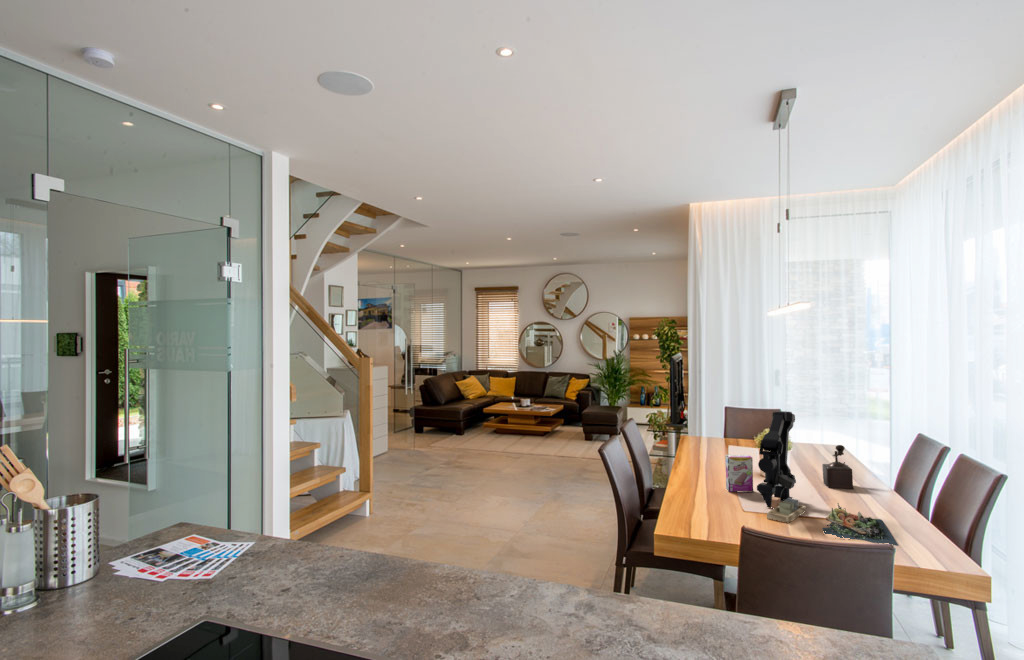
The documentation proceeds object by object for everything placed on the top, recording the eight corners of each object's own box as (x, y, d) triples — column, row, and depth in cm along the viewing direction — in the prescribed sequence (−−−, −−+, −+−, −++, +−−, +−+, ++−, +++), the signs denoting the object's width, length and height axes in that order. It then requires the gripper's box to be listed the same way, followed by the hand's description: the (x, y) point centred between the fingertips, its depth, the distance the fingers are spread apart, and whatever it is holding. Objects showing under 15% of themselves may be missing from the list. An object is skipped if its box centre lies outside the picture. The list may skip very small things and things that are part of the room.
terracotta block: (770, 505, 229) (770, 496, 230) (780, 507, 227) (780, 498, 227) (767, 507, 227) (766, 498, 227) (776, 509, 224) (776, 500, 224)
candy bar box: (729, 492, 250) (727, 457, 251) (725, 489, 255) (724, 454, 256) (754, 492, 249) (752, 456, 250) (750, 489, 254) (749, 454, 255)
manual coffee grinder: (855, 489, 250) (853, 450, 251) (828, 488, 253) (827, 449, 254) (845, 481, 265) (843, 444, 266) (819, 480, 268) (818, 443, 269)
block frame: (785, 507, 226) (784, 495, 226) (806, 511, 220) (805, 499, 221) (766, 518, 213) (766, 506, 213) (788, 523, 207) (787, 510, 207)
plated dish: (806, 512, 222) (805, 494, 222) (887, 520, 211) (887, 501, 211) (816, 542, 190) (815, 521, 190) (912, 554, 179) (912, 532, 179)
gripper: (784, 474, 215) (785, 514, 214) (800, 466, 228) (802, 503, 227) (755, 470, 223) (757, 508, 223) (773, 462, 236) (774, 498, 235)
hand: (773, 505), depth 227 cm, fingers open, 9 cm apart
